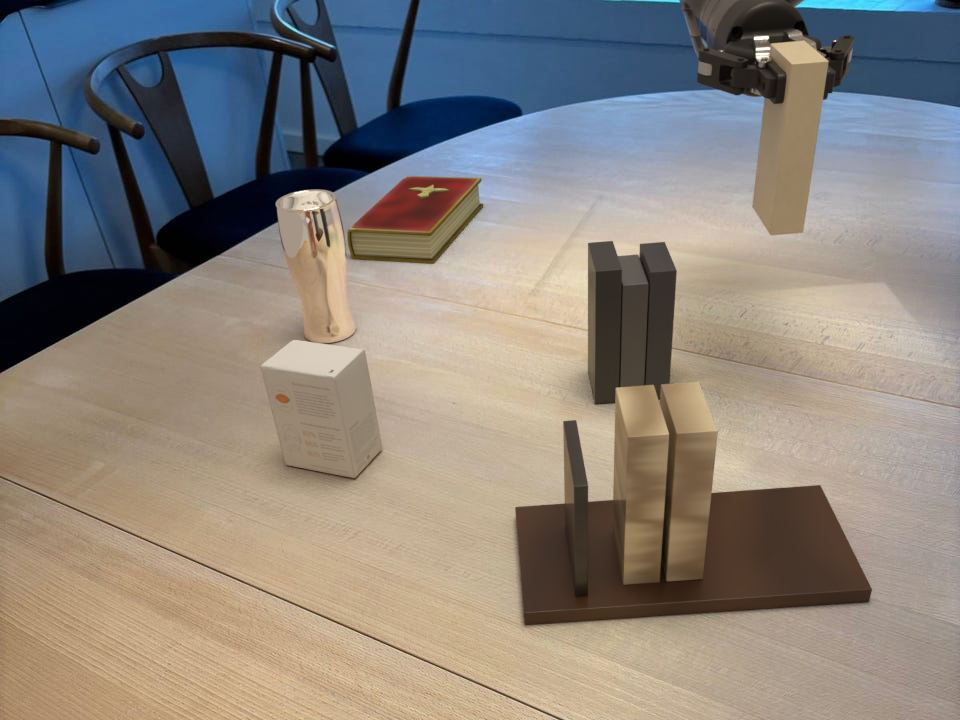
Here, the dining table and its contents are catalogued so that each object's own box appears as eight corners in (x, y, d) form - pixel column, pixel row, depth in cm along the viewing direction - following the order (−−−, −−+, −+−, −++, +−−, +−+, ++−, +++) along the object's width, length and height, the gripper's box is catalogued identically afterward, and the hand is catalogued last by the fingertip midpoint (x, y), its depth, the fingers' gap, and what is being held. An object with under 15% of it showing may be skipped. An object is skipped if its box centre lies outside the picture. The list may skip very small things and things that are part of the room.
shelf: (818, 496, 84) (848, 340, 74) (869, 601, 73) (911, 436, 64) (515, 518, 85) (506, 366, 75) (524, 625, 74) (515, 465, 65)
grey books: (658, 366, 103) (665, 236, 94) (668, 398, 98) (677, 264, 89) (587, 371, 103) (587, 242, 94) (594, 404, 98) (595, 271, 89)
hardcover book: (350, 258, 131) (345, 226, 128) (407, 203, 146) (403, 173, 143) (433, 263, 128) (430, 230, 125) (483, 206, 142) (481, 175, 140)
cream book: (783, 204, 89) (804, 40, 80) (803, 233, 84) (829, 60, 75) (752, 207, 89) (770, 43, 80) (770, 235, 84) (792, 63, 75)
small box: (384, 450, 95) (367, 348, 87) (355, 480, 91) (335, 376, 84) (314, 436, 97) (292, 337, 90) (283, 466, 94) (258, 364, 87)
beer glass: (371, 325, 115) (351, 193, 105) (333, 350, 111) (308, 214, 101) (327, 314, 119) (303, 185, 108) (288, 338, 114) (259, 205, 104)
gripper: (679, -2, 87) (718, 41, 75) (837, -17, 87) (903, 24, 74) (674, 91, 92) (710, 146, 80) (824, 78, 92) (883, 132, 79)
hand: (803, 87), depth 77 cm, fingers closed on cream book, 3 cm apart
